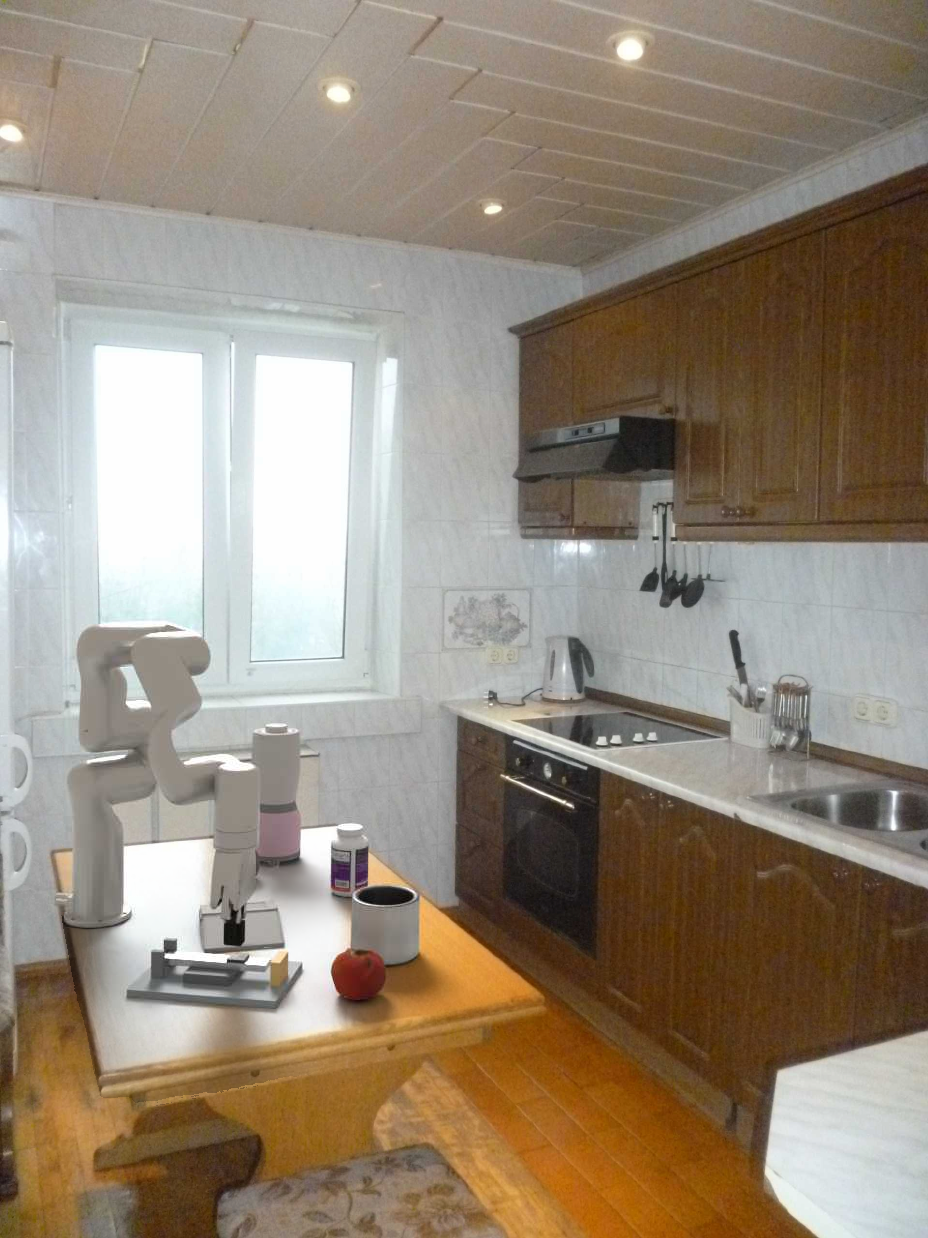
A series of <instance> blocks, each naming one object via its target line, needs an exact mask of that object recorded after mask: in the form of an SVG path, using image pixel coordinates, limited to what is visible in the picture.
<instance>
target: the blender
mask: <svg viewBox="0 0 928 1238" xmlns="http://www.w3.org/2000/svg"><path fill="white" fill-rule="evenodd" d="M251 740H252V741H251V756H250V757H251V762H250V764H252V765H255V766H256V767H257V768H258V769H259V771H260V819H259V847H258V848H256V849H255V850H256V851H257V853H258V855H259V859H260V862H264V863H265V862H266V863H268V867H269V868H277V867H279V866H280V865H279V864H280V862H286V861H287V862H288V861H292V860H295V859H300V858H301V849H302V848H301V835H302V818H301V817H302V816H301V813H300V811H299V808H298V805H297V803H296V801H297V800H296V799H297V794H298V793H297V792H298V787H299V783H300V782H299V780H300V773H301V736H300V731H299V730H298V729H296V728H294V727H293V728H292V727H289V725H287V724H286V723H267V724H266V725H265V726H264V727H261V728H258V729H254V731H253V732H252V739H251Z"/></svg>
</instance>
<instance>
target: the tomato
mask: <svg viewBox="0 0 928 1238" xmlns="http://www.w3.org/2000/svg"><path fill="white" fill-rule="evenodd" d="M331 964H332V965H331V968H330V976H331V978H332V982H333V985H334V987H335V988H334V989H335V990H336V992H337V993H338V995H340V996H341V997H344V998H347V999H348V1000H352V1001H360V1000H370V999H372V998H374V997H375V996H377V995H378V994H379V992H380V991H381V990H382V989H383V988H384V985H385V983H386V979H387V971H386V966H385V965H384V961H383V959H382V957H381V956H379V955H378V954H376V953H375V952H373V951H371V950H368V949H352V948H350V947H348V948H347V949H346V950H345V951H344V952H341V953H339V954H337V955H336V957H335V959H334V960H333V962H332V963H331Z"/></svg>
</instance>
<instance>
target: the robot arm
mask: <svg viewBox="0 0 928 1238" xmlns="http://www.w3.org/2000/svg"><path fill="white" fill-rule="evenodd" d="M75 654H76V662H77V666H78V667H77V668H78V671H79V675H80V694H79V695H80V698H79V714H78V715H79V716H78V741H79V745H80V747H81V748H82V749H83V751H85V752H88V753H91V754H105V753H106V754H107V753H112V752H114V753H115V752H121V751H127V753H125V754H119V755H110V756H103V757H96V758H91V759H87V760H83V761H81V762H78V763H77V764H75V765H74V766H72V768H71V769H70V770H69V771H68V774H67V776H66V788H67V789H66V790H67V795H68V799H69V805H70V812H71V824H72V826H71V829H72V832H71V833H72V836H71V838H72V858H71V859H72V864H71V865H72V873H71V874H72V884H71V885H72V889H71V890H72V891H71V893H66V892H65V893H64V892H57V893H55V895H54V906H55V907H65V908H66V911H65V912H64V913H63V921H64V923H66V924H67V925H69V926H72V927H74V928H75V927H76V928H82V929H83V928H84V929H94V928H105V927H106V928H107V927H111V926H113V925H115V926H116V925H118V924H120V923H122V922H124V921H126V920H128V919H129V918H131V916H132V912H133V911H132V909H133V908H132V907H131V905H129V904H127V903H126V902H124V899H125V898H124V893H125V891H124V890H125V889H124V886H125V885H124V881H125V880H124V879H125V878H124V877H125V876H124V875H125V874H124V870H125V861H124V860H125V858H124V857H125V855H124V854H125V853H124V851H125V849H124V848H125V845H124V844H125V838H124V837H125V830H124V825H123V822H122V821H121V819H120V818H119V816H118V815H117V814H116V812H115V811H114V809H113V806H117V805H121V804H126V803H132V802H137V801H141V800H144V799H147V798H149V797H152V796H153V794H154V793H155V791H156V789H157V787H159V790H160V792H161V794H162V795H163V796H164V798H165V799H166V800H167V801H168V802H170V803H171V804H173V805H175V806H187V805H192V804H198V803H201V802H207V801H213V841H212V842H213V843H212V844H213V845H212V846H213V849H214V850H215V851H214V856H213V863H212V864H213V865H212V873H211V884H210V900H209V905H210V906H211V908H212V909H216V908H217V907H218V906H219V905H220V904H222V907H221V919H222V920H223V922H224V942H223V943H224V945H229V946H241V945H242V944H243V943H244V942H245V920H242V919H245V917H246V905H247V902H249V900H250V899H251V898H252V897H253V895H254V893H255V890H256V883H257V882H256V878H257V876H256V857H255V849H256V848H258V847H259V819H260V771H259V769H258V768H257V767H256V766H255V765H252V764H251V763H247V762H242V761H241V760H240V759H238V758H237V757H235V756H233V755H230V754H227V753H226V754H225V753H223V754H222V753H221V754H212V755H207V756H206V755H205V756H200V757H192V758H186V759H180V757H179V754H178V753H177V750H176V748H175V746H174V743H173V738H172V735H173V733H172V732H173V730H175V729H177V728H178V727H179V726H181V725H183V724H185V723H186V722H188V721H189V720H191V719H192V718H193V717H195V715H196V714H197V713H198V712H200V710H201V708H202V705H203V698H202V696H201V694H200V691H199V690H198V688H197V685H196V683H195V682H194V680H193V677H195V676H200V675H202V674H204V673H206V672H207V670H208V669H209V666H210V664H211V651H210V647H209V645H208V642H207V641H206V640H205V639H204V637H203V636H202V635H201V634H200V633H199V632H196V631H194V630H192V629H189V628H186V627H183V626H180V625H177V624H175V623H170V622H167V621H158V620H156V621H153V620H152V621H123V622H121V621H119V622H107V623H105V622H104V623H98V624H95V625H91V626H88V627H87V628H86V629H84V630H83V631H82V633H81V634H80V635H79V637H78V640H77V643H76V652H75ZM126 667H128V668H130V667H133V668H134V672H135V673H136V676H137V678H138V680H139V683H140V684H141V687H142V689H143V691H144V694H145V696H146V699H147V701H146V700H130V701H128V700H127V699H128V698H127V695H128V681H127V678H126V676H125V674H124V672H123V671H122V669H121V668H126Z"/></svg>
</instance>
